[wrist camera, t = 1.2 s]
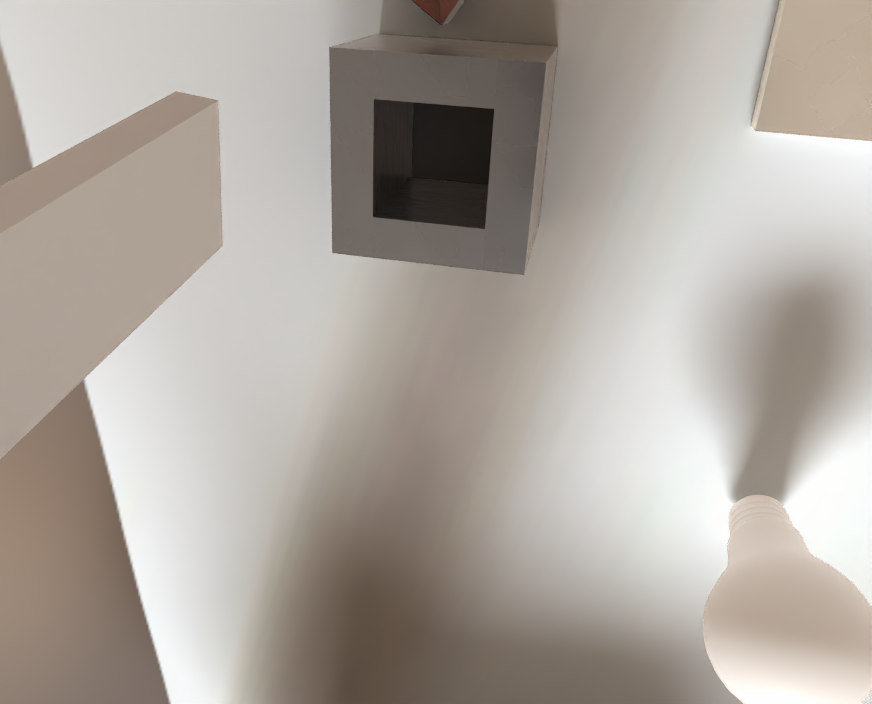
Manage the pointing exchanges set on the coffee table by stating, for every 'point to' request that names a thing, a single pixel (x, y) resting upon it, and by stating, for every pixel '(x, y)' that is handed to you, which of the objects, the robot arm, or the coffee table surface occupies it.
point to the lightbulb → (785, 617)
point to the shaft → (818, 71)
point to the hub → (393, 142)
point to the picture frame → (440, 9)
